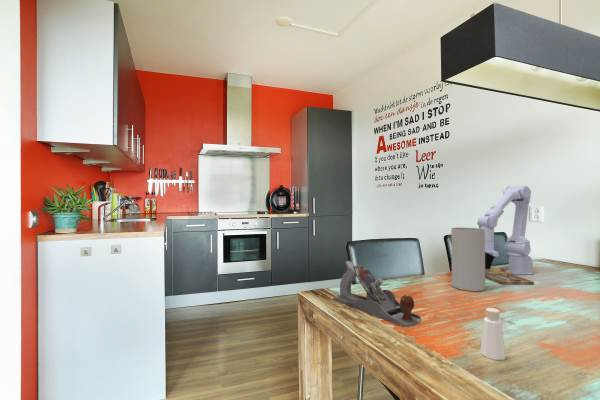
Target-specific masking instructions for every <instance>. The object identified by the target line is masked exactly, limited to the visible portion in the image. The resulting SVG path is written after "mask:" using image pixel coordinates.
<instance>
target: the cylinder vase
mask: <svg viewBox="0 0 600 400" xmlns="http://www.w3.org/2000/svg"><path fill="white" fill-rule="evenodd" d="M451 285H452V287H453V288H455V289H457V290H460V291H464V292H465V291H466V292H482V291H484V290H485V289H486V278H485V229H480V228H479V227H451Z"/></svg>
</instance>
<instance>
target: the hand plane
mask: <svg viewBox="0 0 600 400" xmlns="http://www.w3.org/2000/svg"><path fill="white" fill-rule="evenodd" d="M345 265H346V269H347V270H346V271H345V273H344V274H343V276H342V277H341V280H340V285H339V294H340V296H337V297H336V296H334V297H332V301H334V302H337V303H340V304H342V305H344V304H345V305H344V306H347V307H350V308H352V309H356V310H357V311H361V312H362V313H366V314H369V315H370V316H374V317H375V318H378V319H380V320H383V321H385V322H389V323H392V324H394V325H397V326H400V327H402V328H408V327H413V326H416V325H418V324H420V323H421V322H422V317H421V315H419V314H417V313H415V312H412V311H413V309H414V308H415V301H414V298H413V296H411V295H409V294H404V295H402V296H401V297H400V300H397V299H396V295H395V294H394V292H392V291H391V290H389V289H382V287H381V286H382V284H383V283H384V280H383V278H381V277H378V278H375V277H374V275H373V274H372V272H371V271H370V270H369V269H368V268H367V267H366V266H365V265H364V264H359V265H355V264H354V263H353V262H352V261H351V260H346V261H345ZM356 278H357V280H358V281H359V283H360V284H361V286H362V288H363V290H364V291H365V292H366V296H363V295H360V294H356V293H353V292H352V285H353V282H354V280H355V279H356Z"/></svg>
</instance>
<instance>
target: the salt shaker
mask: <svg viewBox="0 0 600 400" xmlns="http://www.w3.org/2000/svg"><path fill="white" fill-rule="evenodd" d="M485 314H486V317H484V318H483V325H482V333H481V342H480V352H479V353H480V354H481V355H483V357H485V358H487V359H491V360H494V361H503V360H506V357H507V355H506V348H505V347H506V346H505V339H504V331H503V330H504V329H503V323H502V320H501V319H500V318H499V317H500V310H499V309H497V308H494V307H487V308H486V309H485Z"/></svg>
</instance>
